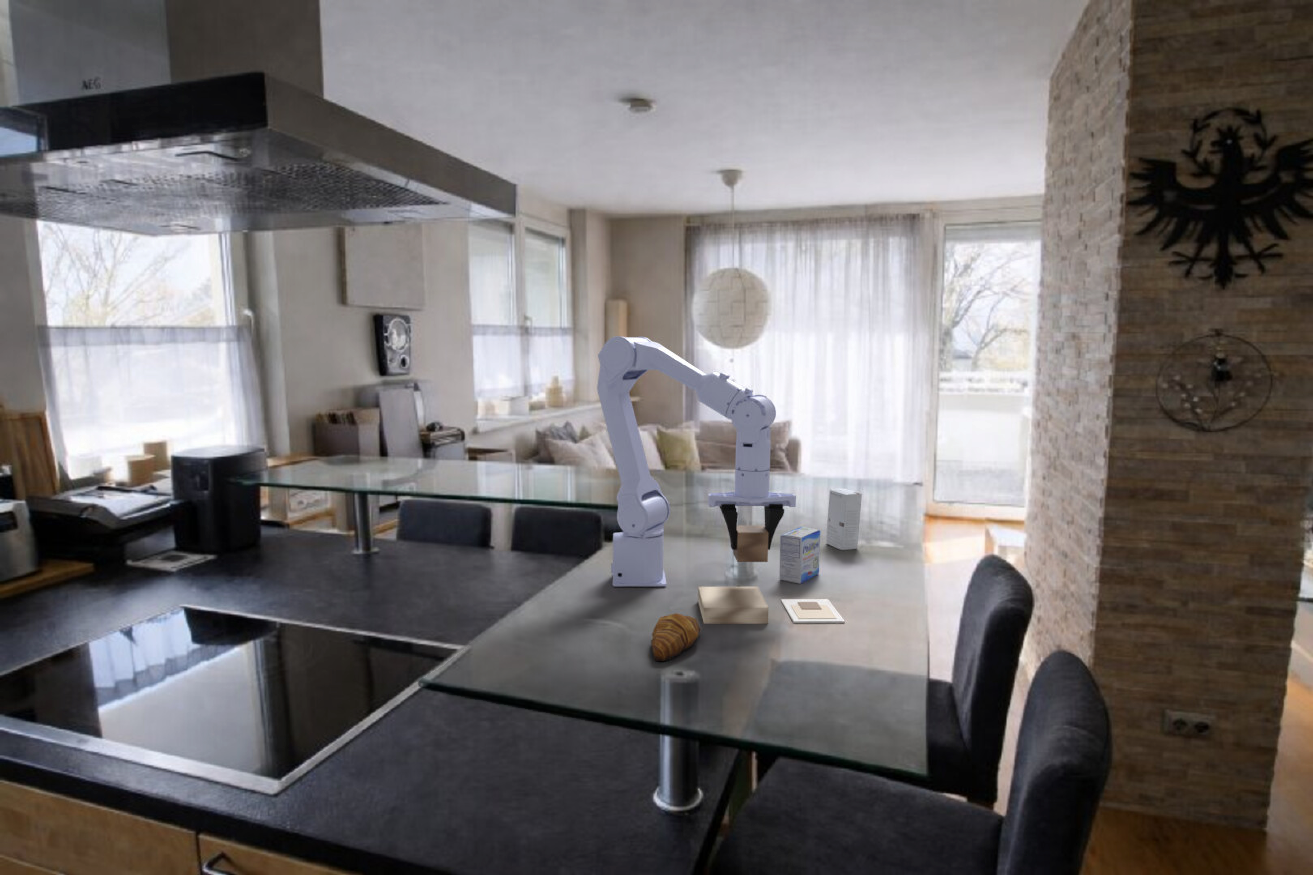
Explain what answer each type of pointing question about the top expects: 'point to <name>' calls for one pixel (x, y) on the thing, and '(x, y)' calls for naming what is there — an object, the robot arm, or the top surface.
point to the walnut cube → (751, 543)
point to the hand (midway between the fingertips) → (750, 548)
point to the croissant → (673, 635)
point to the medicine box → (799, 554)
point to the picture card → (812, 611)
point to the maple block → (732, 605)
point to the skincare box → (843, 518)
